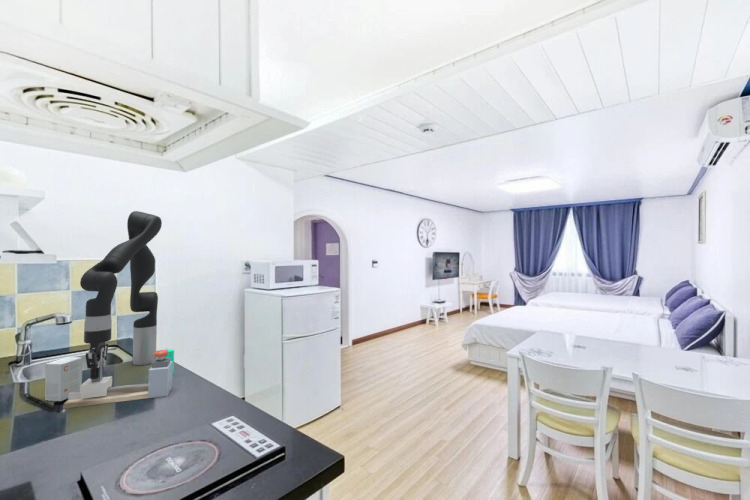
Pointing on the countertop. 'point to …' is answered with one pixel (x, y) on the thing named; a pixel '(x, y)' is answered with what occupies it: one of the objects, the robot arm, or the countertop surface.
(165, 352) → the button
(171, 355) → the candle
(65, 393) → the small box
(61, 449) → the countertop surface
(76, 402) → the rail
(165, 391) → the push button housing
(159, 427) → the countertop surface
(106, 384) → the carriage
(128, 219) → the robot arm
